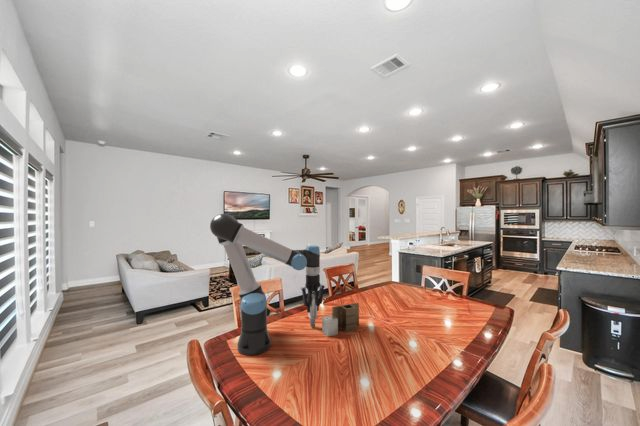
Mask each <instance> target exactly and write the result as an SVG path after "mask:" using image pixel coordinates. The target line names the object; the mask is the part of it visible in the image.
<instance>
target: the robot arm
mask: <svg viewBox="0 0 640 426" xmlns="http://www.w3.org/2000/svg"><path fill="white" fill-rule="evenodd" d="M209 230H210V232H211V233H212V234H213V235H214V236H215V237H216V238H217V242H218V245H221V246H223V248H224V250H225V253H226V256H227V259H228V261H229V263H230V266H231V269H232V271H233V274H234V276H235V279H236V282H237V284H238V288H239V291H238V293H237V294H238V296H239V299H240V301H241V302H240V309H241V310H240V319H241V321H240V322H241V325H240V328H241V331H240V332H241V333H240V336H239V339H238V341H237V351H238V353H240V354H242V355H245V356H254V355H260V354H263V353H265V352H266V351H268V350H270V348H271V346H272V340H271V339H272V338H271V337H270V334H269V330H268V310H267V309H268V308H267V306H268V300H267V296H266V294H265V293H266V292H264V291H263V288H262V284H261V283H259V282H257V280H256V278H255V275H254V272H253V270H252V267H251V265H250V263H249V260H248V257H247V254H246V251H245V249H244V247H246V248H249V249H251V250H253V251H255V252H258V253H261V254H262V255H265V256H267V257H269V258H271V259H274V260H276V261H277V262H281V263H282V264H284V265H287V266H289V267H291V268H293V270H295V271H302V270H304V269H305V274H306V275H305V284H304V286H302V287H300V290H301V294H302V301H303V302H302V303H303V305H304V307H306V311H307V314H308V318H309V319H312V307H311V306H310V304H311V296H312V294H315V295H316V297H315V319H317V318H318V311H319V307H320V305H321V304H323V295H324V289H325V286H326V285H324V284H321V282H320V281H321V279H320V276H321V275H320V273H321V267H320V266H321V265H320V263H321V262H320V260H321V259H320V257H321V251H320V246H318V245H315V244H314V245H306V246H305V249H292V248H289V247H287V246H285V245H283V244H281V243H279V242H276V241H274V240H272V239H270V238H268V237H266V236H264V235H261V234H259V233H257V232H255V231H253V230H251V229H248V228H247V227H245V226H244V224H243V223H240V222H239V221H238V219H237V218H236V217H235V216H234V215H233V214H231V213H220V214H217V215H215V216H214V217H213V218H212V219H211V221H210V226H209ZM306 291H307V292H306Z"/></svg>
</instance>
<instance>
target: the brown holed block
mask: <svg viewBox="0 0 640 426" xmlns="http://www.w3.org/2000/svg"><path fill="white" fill-rule="evenodd" d="M359 304H360V303H359V302H353V303H348V304H343V305H342V304H341V305H340V306H341V313H342V314H343V315H345V316H351V315H356V323H352V324H348V325H346V324H345V323H343V322H342V321H341V329H340V330H343V332H345V333H349V332H354V331H357V326H360V305H359Z"/></svg>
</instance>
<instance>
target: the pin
mask: <svg viewBox="0 0 640 426" xmlns="http://www.w3.org/2000/svg"><path fill="white" fill-rule="evenodd" d="M315 297H316V295H315V294H314V293H312V296H311V304H310V306H311V307H312V319H310V318H309V319H310V321H309V322H310V323H309V324H310V327H311V328H314V327H316V318H315V305H316V304H315Z"/></svg>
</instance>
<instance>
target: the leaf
mask: <svg viewBox="0 0 640 426" xmlns="http://www.w3.org/2000/svg"><path fill="white" fill-rule="evenodd" d="M331 311H332V312H331V314H329V315H328V314H327V315H324V316H321V324H322V326H321V329H322V330H321V331H322V333H323V334H324V335H325V336H326V337H328V338H329V337H331V336H336V335H337V336H338V335H339V330H342V329H341V321H342V322H343V323H345V324H346V325H348V324H352V323H356V315H351V316H345V315H343V314H342V313H341V305H335V306H332V307H331Z"/></svg>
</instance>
